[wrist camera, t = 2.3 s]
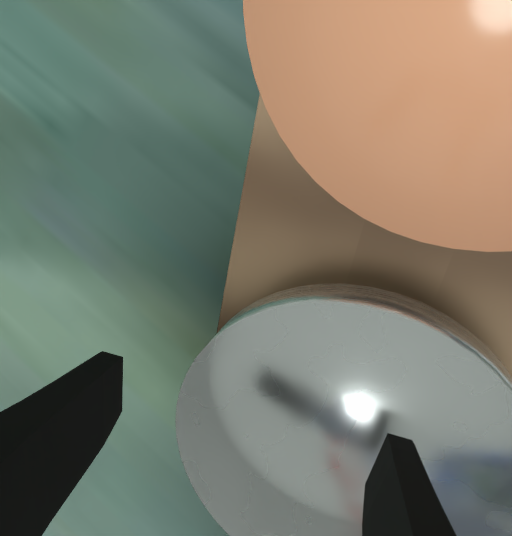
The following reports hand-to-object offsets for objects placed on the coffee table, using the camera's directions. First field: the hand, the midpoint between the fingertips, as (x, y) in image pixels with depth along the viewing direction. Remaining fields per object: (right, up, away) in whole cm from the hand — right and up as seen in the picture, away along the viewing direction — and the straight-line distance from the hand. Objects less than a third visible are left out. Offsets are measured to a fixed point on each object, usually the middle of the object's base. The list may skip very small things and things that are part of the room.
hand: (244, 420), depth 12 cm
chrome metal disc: (+4, -1, +6) cm, 7 cm away
